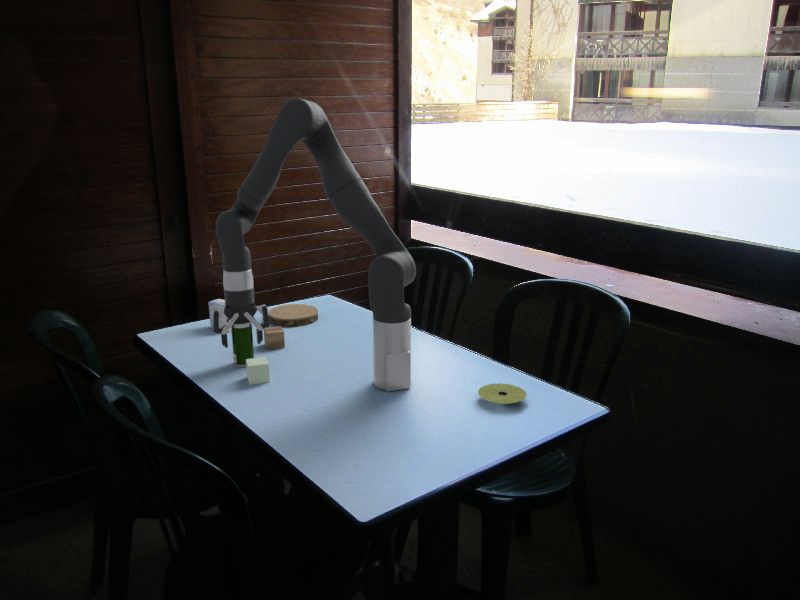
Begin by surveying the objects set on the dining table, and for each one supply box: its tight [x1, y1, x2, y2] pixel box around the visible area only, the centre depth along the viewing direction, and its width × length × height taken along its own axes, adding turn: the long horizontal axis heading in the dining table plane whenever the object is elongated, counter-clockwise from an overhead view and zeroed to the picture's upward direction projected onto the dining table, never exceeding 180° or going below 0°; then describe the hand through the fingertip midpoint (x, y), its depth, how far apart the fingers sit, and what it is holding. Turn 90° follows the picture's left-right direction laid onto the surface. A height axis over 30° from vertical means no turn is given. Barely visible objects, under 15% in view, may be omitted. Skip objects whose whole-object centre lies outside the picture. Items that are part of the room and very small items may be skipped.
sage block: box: [245, 356, 271, 386], centre depth 166 cm, size 5×5×5 cm
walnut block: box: [263, 326, 286, 351], centre depth 189 cm, size 5×5×5 cm
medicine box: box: [208, 298, 231, 333], centre depth 204 cm, size 8×4×9 cm, turn 58°
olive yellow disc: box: [477, 382, 528, 405], centre depth 154 cm, size 11×11×2 cm
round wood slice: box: [268, 303, 319, 328], centre depth 214 cm, size 16×16×3 cm
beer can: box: [230, 321, 255, 368], centre depth 175 cm, size 5×5×12 cm
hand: (242, 344), depth 175 cm, fingers open, 8 cm apart
